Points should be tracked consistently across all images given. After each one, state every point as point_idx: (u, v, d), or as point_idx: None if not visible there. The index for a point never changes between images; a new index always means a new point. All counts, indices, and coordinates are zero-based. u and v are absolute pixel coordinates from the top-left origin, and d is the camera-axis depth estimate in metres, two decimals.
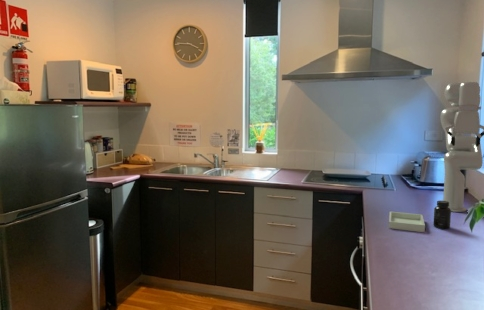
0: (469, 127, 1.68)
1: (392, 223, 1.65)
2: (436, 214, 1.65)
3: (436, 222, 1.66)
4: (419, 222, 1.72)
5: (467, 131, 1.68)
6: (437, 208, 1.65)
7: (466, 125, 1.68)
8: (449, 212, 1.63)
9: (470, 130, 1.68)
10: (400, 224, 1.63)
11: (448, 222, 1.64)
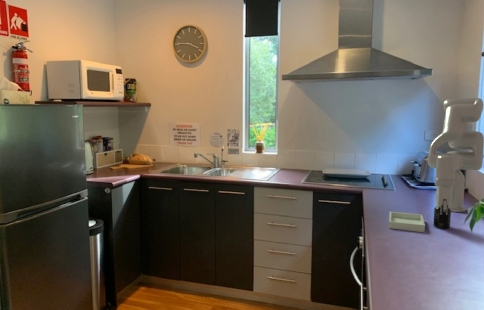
0: None
1: (392, 223, 1.65)
2: (436, 214, 1.65)
3: (436, 222, 1.66)
4: (419, 222, 1.72)
5: None
6: (437, 208, 1.65)
7: None
8: (449, 212, 1.63)
9: None
10: (400, 224, 1.63)
11: (448, 222, 1.64)
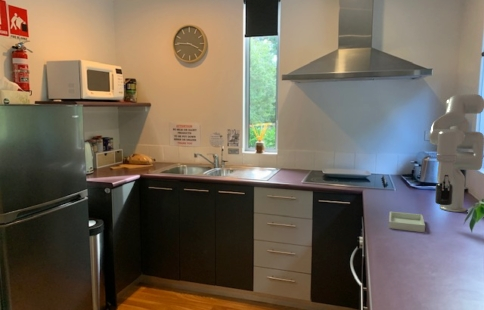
0: None
1: (392, 223, 1.65)
2: (437, 191, 1.65)
3: (438, 198, 1.65)
4: (419, 222, 1.72)
5: None
6: (439, 184, 1.64)
7: None
8: (451, 188, 1.62)
9: None
10: (400, 224, 1.63)
11: (450, 198, 1.63)
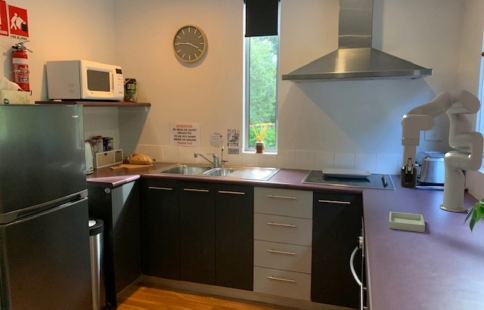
0: None
1: (392, 223, 1.65)
2: (402, 174, 1.67)
3: (402, 182, 1.67)
4: (419, 222, 1.72)
5: None
6: (403, 168, 1.67)
7: None
8: (415, 171, 1.65)
9: None
10: (400, 224, 1.63)
11: (414, 181, 1.65)
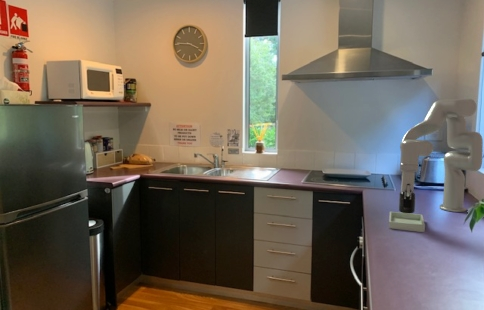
0: None
1: (392, 223, 1.65)
2: (401, 199, 1.69)
3: (401, 206, 1.69)
4: (419, 222, 1.72)
5: None
6: (402, 193, 1.68)
7: None
8: (413, 196, 1.66)
9: None
10: (400, 224, 1.63)
11: (412, 206, 1.67)
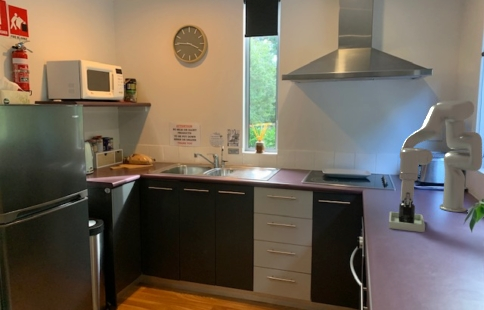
0: None
1: (392, 223, 1.65)
2: (400, 210, 1.70)
3: (401, 218, 1.70)
4: (419, 222, 1.72)
5: None
6: (401, 204, 1.69)
7: None
8: (413, 208, 1.67)
9: None
10: (400, 224, 1.63)
11: (412, 218, 1.68)
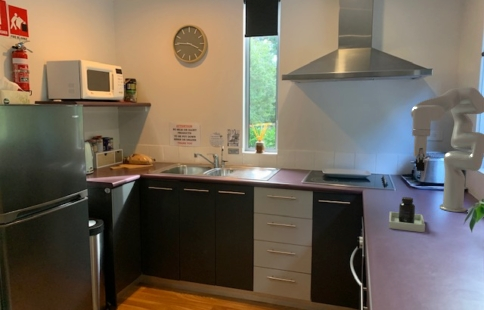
0: None
1: (392, 223, 1.65)
2: (400, 210, 1.70)
3: (401, 218, 1.70)
4: (419, 222, 1.72)
5: (425, 154, 1.70)
6: (402, 204, 1.69)
7: None
8: (413, 208, 1.67)
9: None
10: (400, 224, 1.63)
11: (412, 218, 1.68)
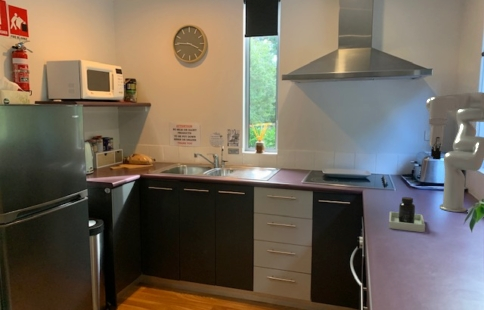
0: None
1: (392, 223, 1.65)
2: (400, 210, 1.70)
3: (401, 218, 1.70)
4: (419, 222, 1.72)
5: None
6: (402, 204, 1.69)
7: None
8: (413, 208, 1.67)
9: None
10: (400, 224, 1.63)
11: (412, 218, 1.68)
